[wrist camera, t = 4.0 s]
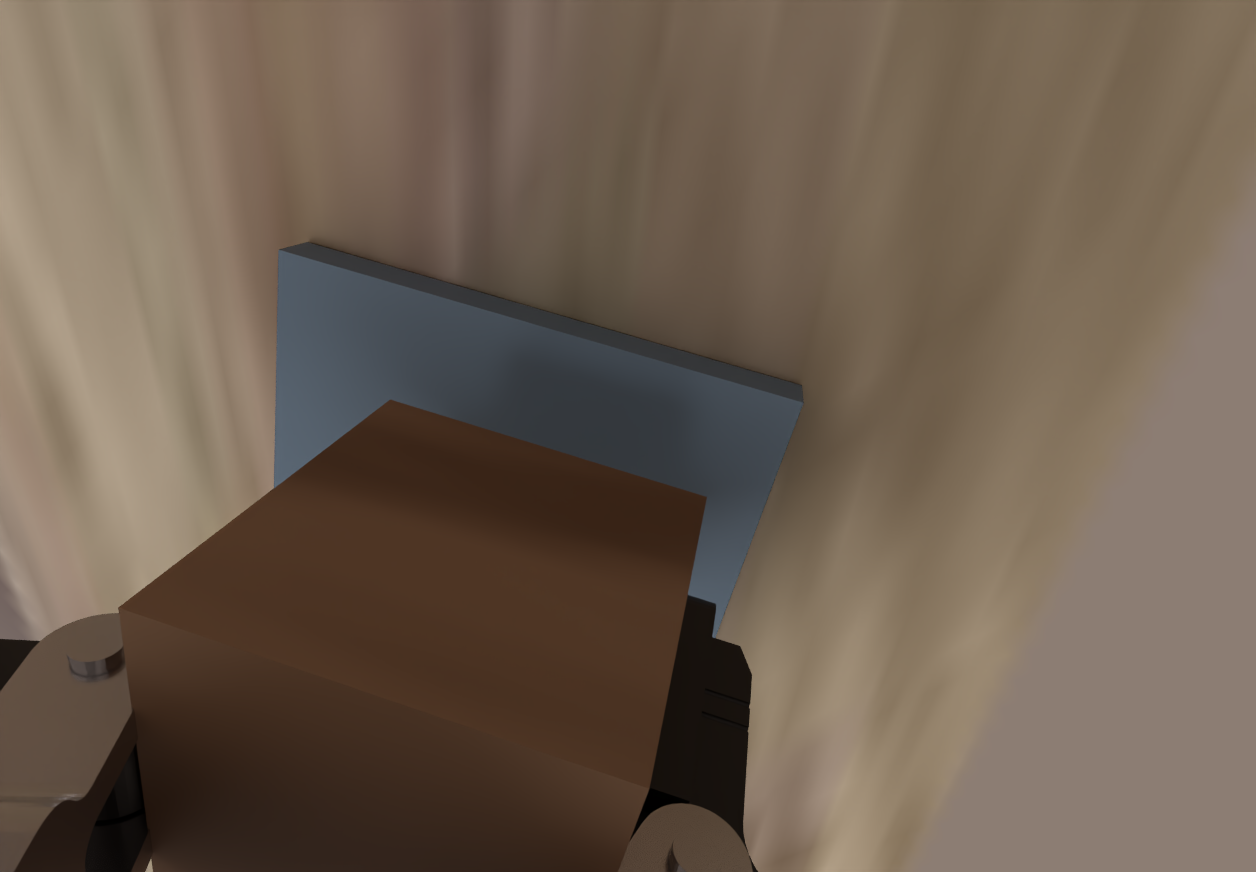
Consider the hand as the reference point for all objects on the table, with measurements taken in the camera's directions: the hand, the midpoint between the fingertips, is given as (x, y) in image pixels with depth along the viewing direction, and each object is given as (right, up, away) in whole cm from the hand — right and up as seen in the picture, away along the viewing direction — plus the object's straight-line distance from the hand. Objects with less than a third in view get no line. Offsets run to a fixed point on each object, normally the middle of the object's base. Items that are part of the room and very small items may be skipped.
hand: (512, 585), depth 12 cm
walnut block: (0, 0, 0) cm, 0 cm away
